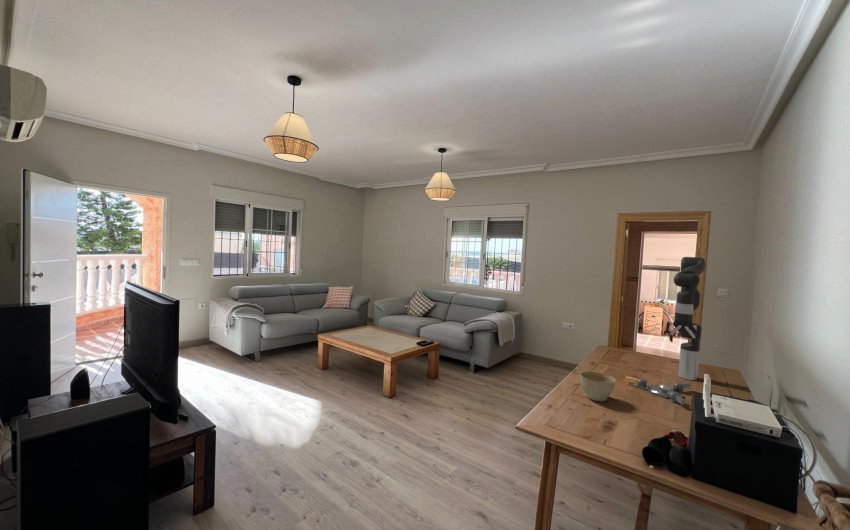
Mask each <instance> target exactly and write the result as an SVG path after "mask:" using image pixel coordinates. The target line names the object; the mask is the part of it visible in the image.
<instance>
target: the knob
mask: <svg viewBox="0 0 850 530" xmlns="http://www.w3.org/2000/svg"><path fill="white" fill-rule="evenodd" d="M680 395H681V394H680V393H678V392H674V391H670V397H669V398H670V399H671V400H674V401H678V402H679V404H680V405H683V406H685V405H686V399H684V398H683V397H682V398H681V397H680Z"/></svg>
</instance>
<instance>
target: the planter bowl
mask: <svg viewBox="0 0 850 530" xmlns="http://www.w3.org/2000/svg"><path fill="white" fill-rule="evenodd" d="M579 376H580V377H579V378H580V385H581V388H582V390H583V391H584V393H585V397H587V399H589V400H591V401H597V402H605V401H607V399H608V398H609V397H610V396H611V395H612V393H613V392H614V389H615V387H616V386H615V385H616V383H617V382H616V381H617V380H616V378H615V377H613V376H611V375H609V374H606V373H603V372H598V371H592V370H591V371H581V372H580V374H579Z"/></svg>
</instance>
